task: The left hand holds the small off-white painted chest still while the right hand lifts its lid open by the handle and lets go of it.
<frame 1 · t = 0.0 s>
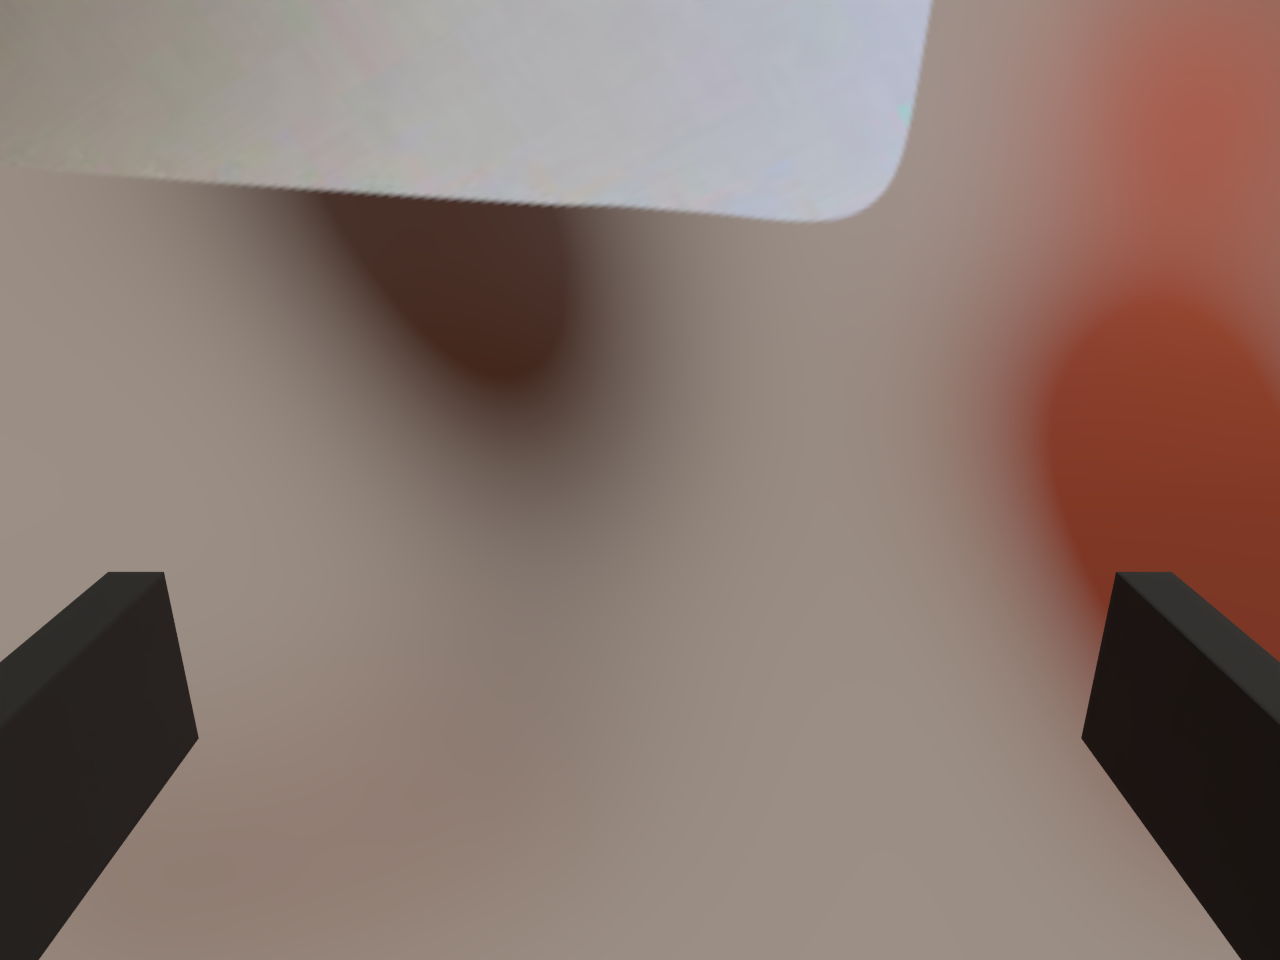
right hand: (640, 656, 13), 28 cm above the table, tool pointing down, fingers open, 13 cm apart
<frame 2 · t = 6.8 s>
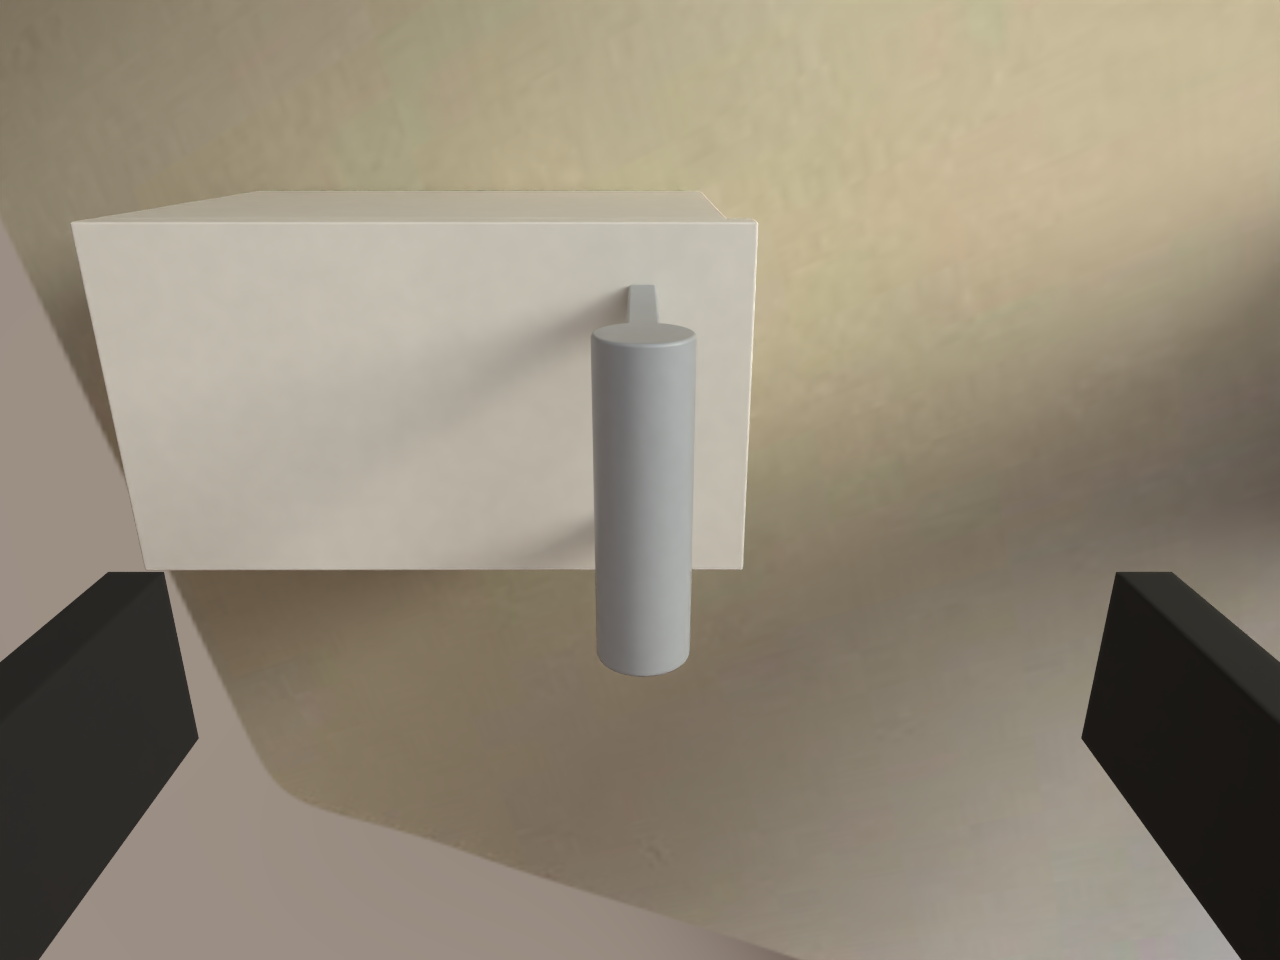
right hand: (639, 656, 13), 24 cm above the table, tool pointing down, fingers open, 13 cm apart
chest: (487, 320, 35), on the table
lid: (400, 448, 21), point 15 cm above the table, hinge at 0.0°
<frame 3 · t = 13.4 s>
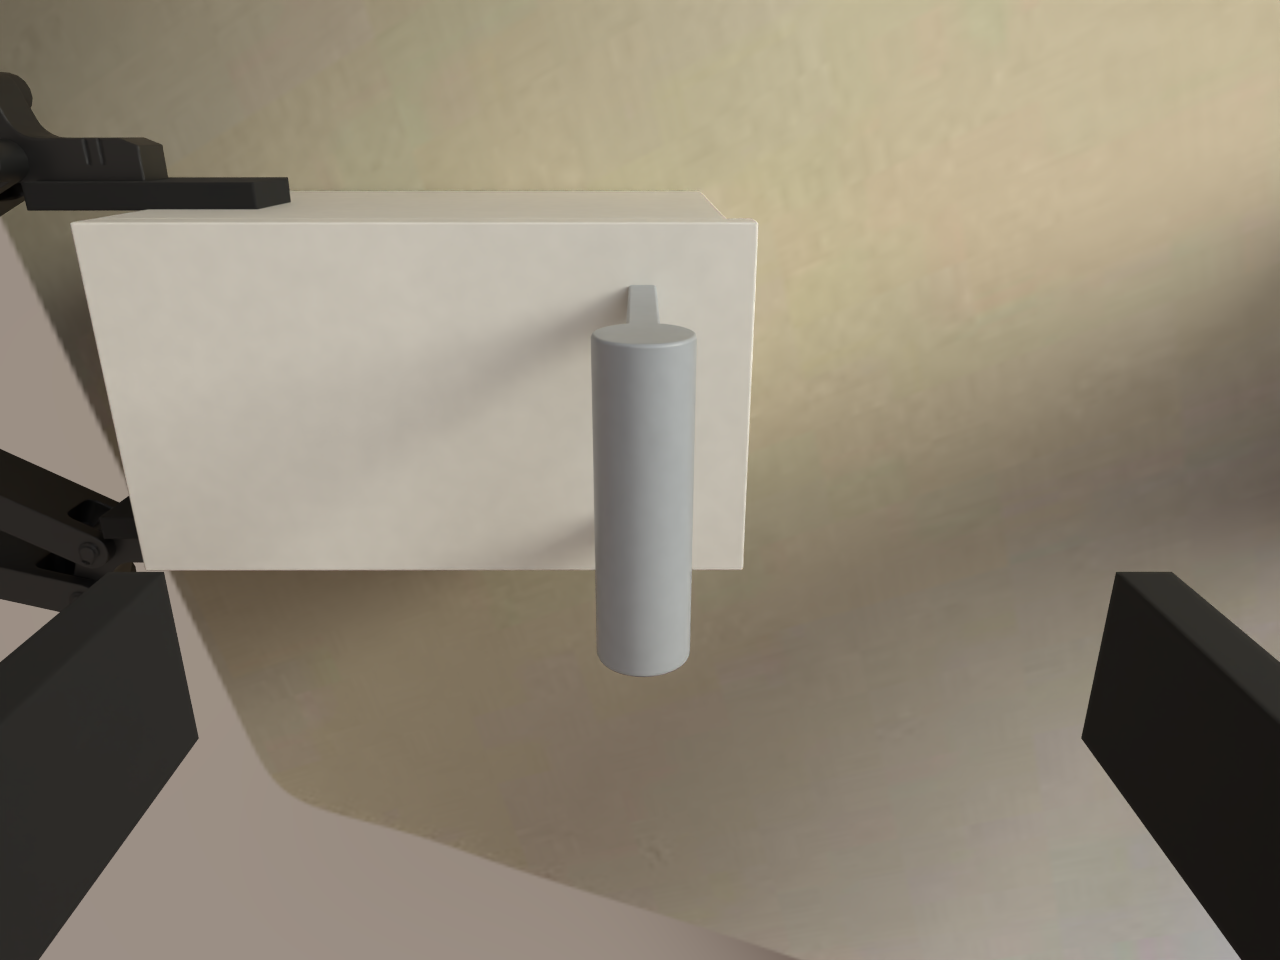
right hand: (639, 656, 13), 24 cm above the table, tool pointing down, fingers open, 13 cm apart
chest: (487, 320, 35), on the table, touching left hand
lid: (400, 448, 21), point 15 cm above the table, hinge at 0.0°
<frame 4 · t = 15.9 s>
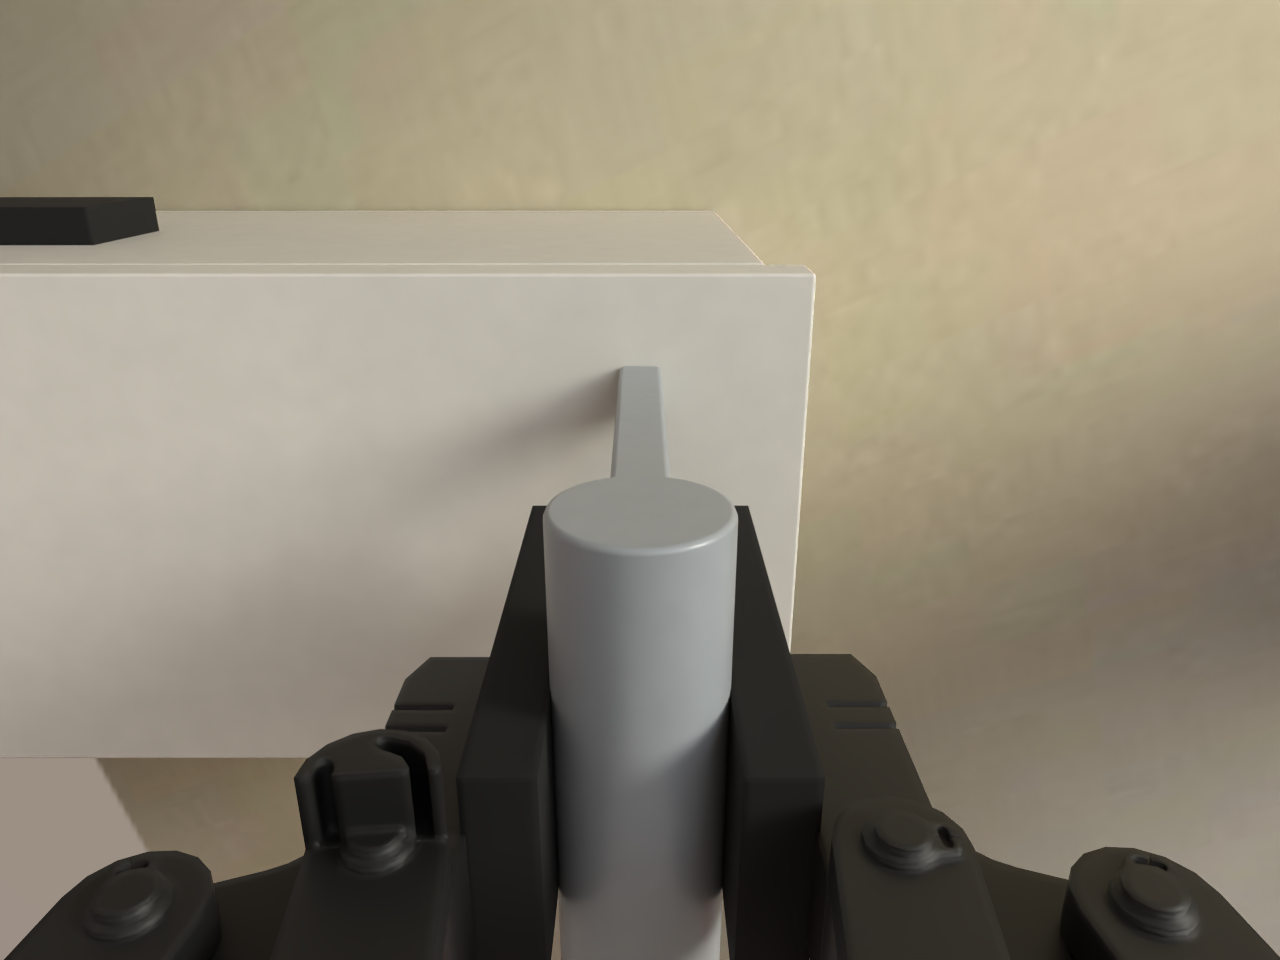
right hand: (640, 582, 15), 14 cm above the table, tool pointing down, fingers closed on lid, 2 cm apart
chest: (441, 374, 28), on the table, touching left hand
lid: (260, 633, 13), point 15 cm above the table, hinge at 0.4°, touching right hand
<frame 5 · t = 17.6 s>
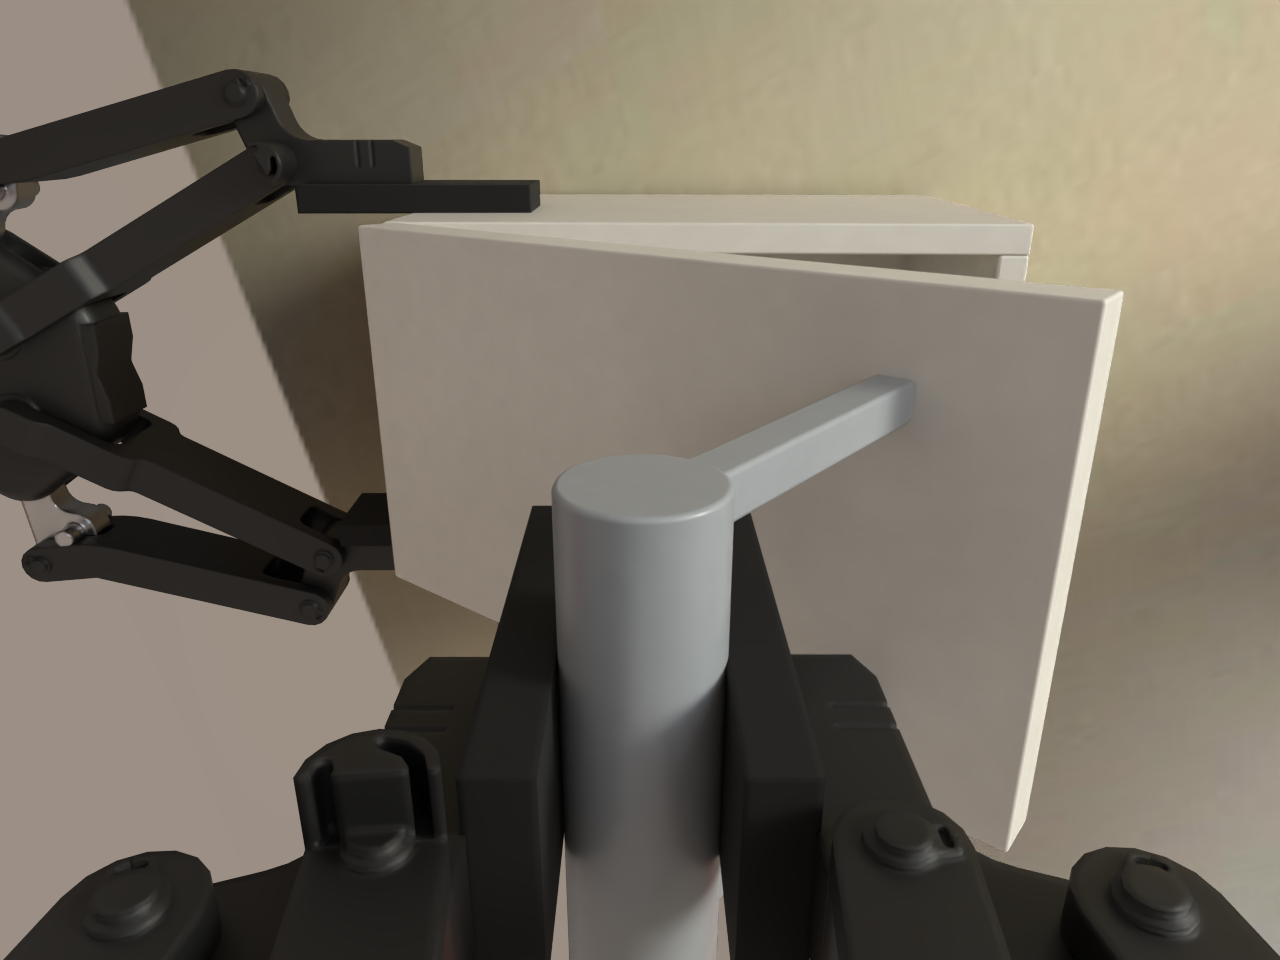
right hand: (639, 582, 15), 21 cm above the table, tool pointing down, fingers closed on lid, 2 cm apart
left hand: (542, 367, 29), fingers closed on chest, 9 cm apart
chest: (695, 326, 34), on the table, touching left hand
lid: (514, 536, 17), point 19 cm above the table, hinge at 35.9°, touching right hand
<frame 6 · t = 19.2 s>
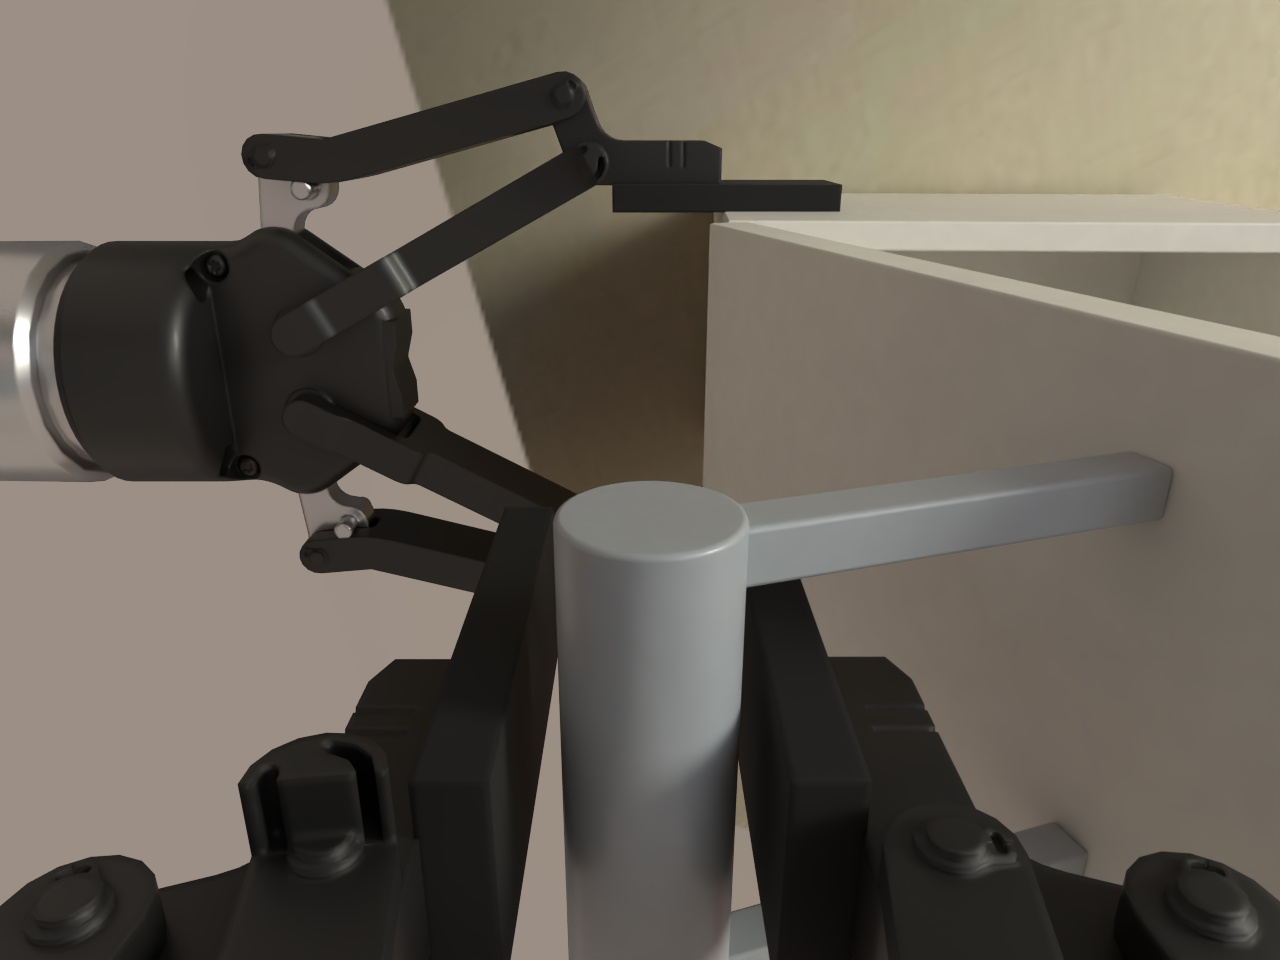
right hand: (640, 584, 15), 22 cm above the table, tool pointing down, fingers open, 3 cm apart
left hand: (819, 363, 29), fingers closed on chest, 9 cm apart
chest: (922, 323, 35), on the table, touching left hand
lid: (719, 548, 16), point 21 cm above the table, hinge at 68.7°
when the left hand's fingers open (7 cm above the table, at t = 23.4 s): chest stays where it is, on the table.
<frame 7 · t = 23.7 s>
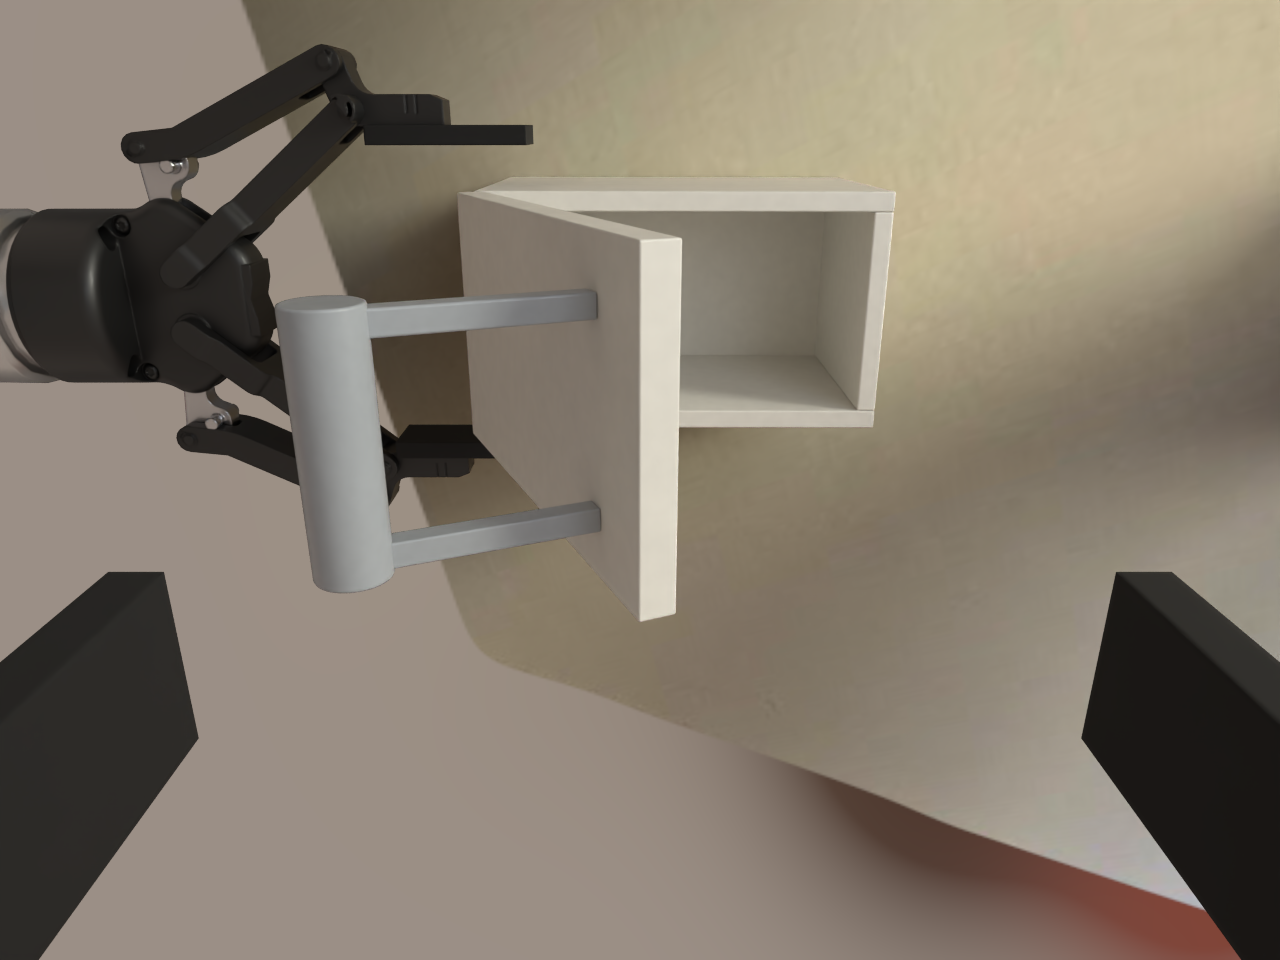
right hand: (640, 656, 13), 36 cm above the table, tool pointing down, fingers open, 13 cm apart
left hand: (537, 297, 40), fingers open, 13 cm apart
chest: (673, 274, 47), on the table
lid: (428, 377, 28), point 21 cm above the table, hinge at 66.0°
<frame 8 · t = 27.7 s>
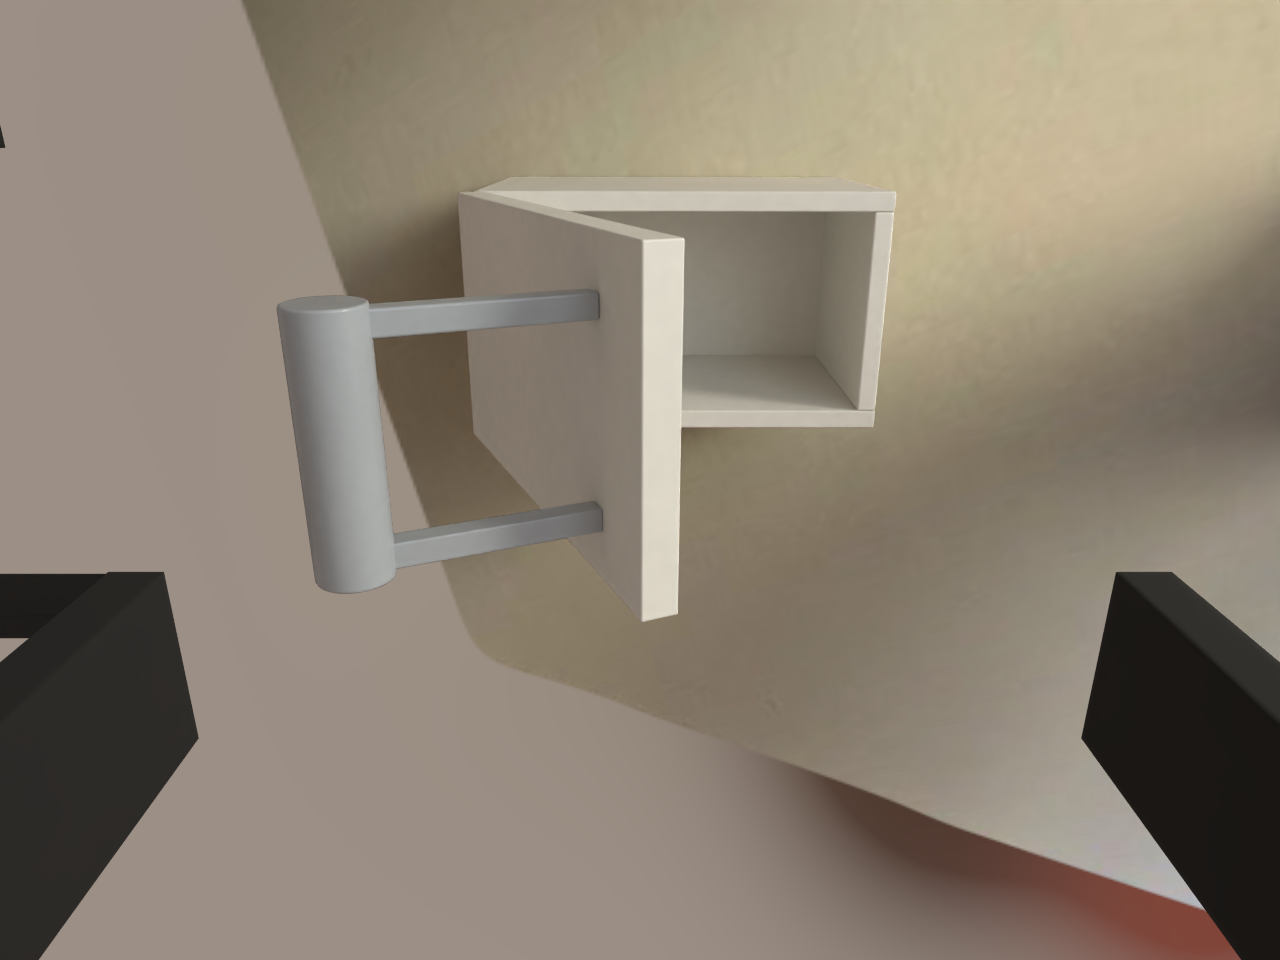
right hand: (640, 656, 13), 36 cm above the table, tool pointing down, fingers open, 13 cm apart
chest: (673, 274, 47), on the table
lid: (429, 377, 28), point 21 cm above the table, hinge at 66.0°
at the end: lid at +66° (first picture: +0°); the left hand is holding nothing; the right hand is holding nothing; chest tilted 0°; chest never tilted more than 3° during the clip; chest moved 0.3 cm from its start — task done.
